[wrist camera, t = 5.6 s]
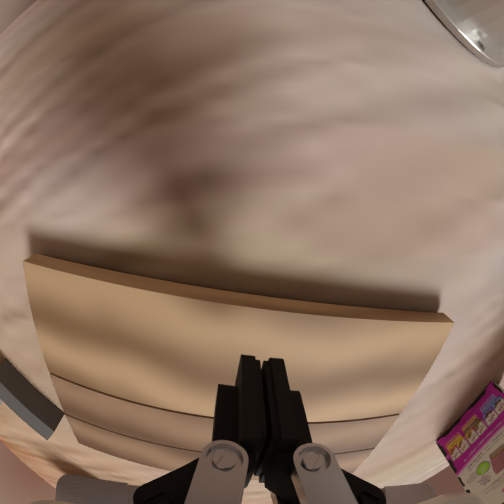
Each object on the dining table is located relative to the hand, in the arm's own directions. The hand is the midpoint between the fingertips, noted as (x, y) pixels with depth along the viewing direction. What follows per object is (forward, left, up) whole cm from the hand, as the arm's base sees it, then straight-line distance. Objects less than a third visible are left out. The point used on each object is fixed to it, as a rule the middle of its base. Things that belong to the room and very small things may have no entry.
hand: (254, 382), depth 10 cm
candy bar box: (+13, +32, -6) cm, 35 cm away
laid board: (+13, 0, -5) cm, 14 cm away
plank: (+3, 0, -5) cm, 6 cm away
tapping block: (+14, -20, -6) cm, 26 cm away
